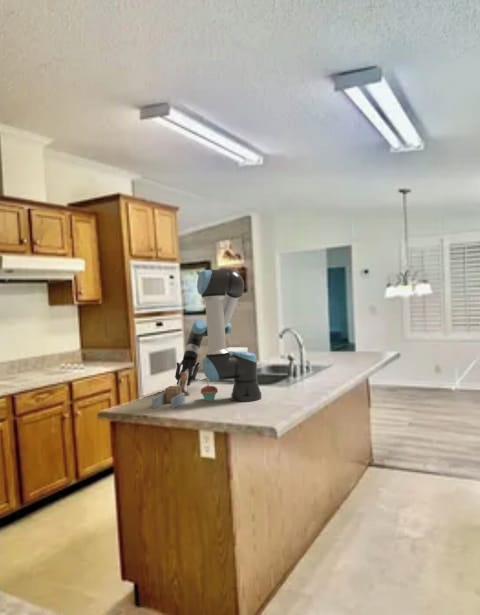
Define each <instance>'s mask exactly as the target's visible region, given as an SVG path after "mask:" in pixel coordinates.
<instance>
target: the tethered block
mask: <svg viewBox="0 0 480 615" xmlns="http://www.w3.org/2000/svg"><path fill="white" fill-rule="evenodd" d="M186 379H188V373H187V372H186V371H185V372H183V373H181V386H178V385H169V386H167V387H166V388H165V389H164V390H165V392H166V402H165V403H166V404H169V403H170V404H171V399H172V398H174V397H176V396H177V395H179V394H181V393H184V394H185V397H186V396H189V395H190V392H189V391H188V389H187V392H185V390H184V386H185V382H186Z"/></svg>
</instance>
